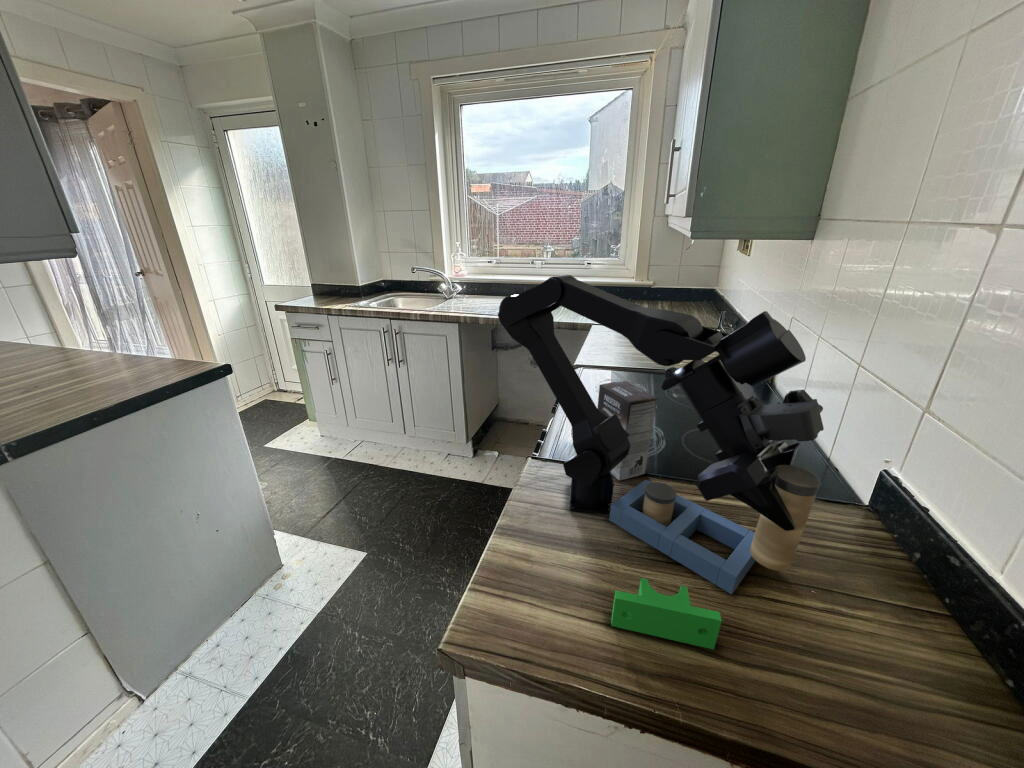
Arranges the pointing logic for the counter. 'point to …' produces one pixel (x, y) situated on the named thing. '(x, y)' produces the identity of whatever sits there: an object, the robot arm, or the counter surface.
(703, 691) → the counter surface
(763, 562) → the wooden peg
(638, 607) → the pipe clamp
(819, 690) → the counter surface
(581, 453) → the robot arm
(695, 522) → the socket block
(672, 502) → the short wooden cylinder
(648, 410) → the coffee box
